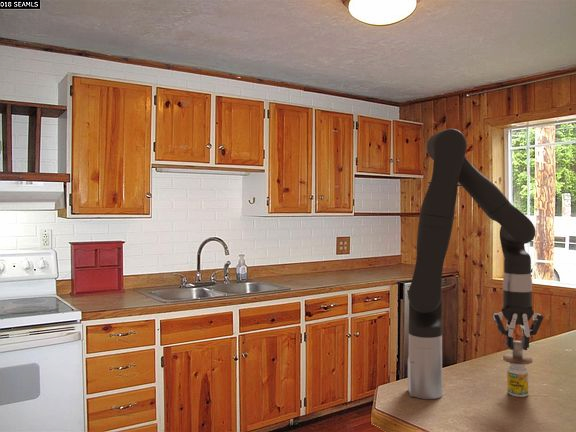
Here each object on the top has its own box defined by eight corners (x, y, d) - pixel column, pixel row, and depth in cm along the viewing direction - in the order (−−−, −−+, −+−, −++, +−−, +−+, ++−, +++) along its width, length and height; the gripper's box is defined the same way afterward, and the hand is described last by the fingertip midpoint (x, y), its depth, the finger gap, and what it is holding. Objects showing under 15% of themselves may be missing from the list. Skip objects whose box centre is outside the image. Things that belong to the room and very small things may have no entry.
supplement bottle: (528, 392, 146) (528, 359, 145) (527, 398, 141) (527, 364, 141) (508, 389, 148) (508, 356, 148) (506, 395, 143) (506, 361, 143)
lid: (508, 364, 141) (508, 345, 141) (499, 356, 148) (499, 338, 148) (536, 364, 140) (536, 345, 140) (526, 356, 148) (526, 338, 148)
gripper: (495, 290, 141) (495, 352, 141) (548, 291, 140) (548, 353, 140) (487, 286, 149) (488, 345, 149) (538, 286, 147) (538, 346, 147)
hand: (517, 348), depth 144 cm, fingers open, 3 cm apart
